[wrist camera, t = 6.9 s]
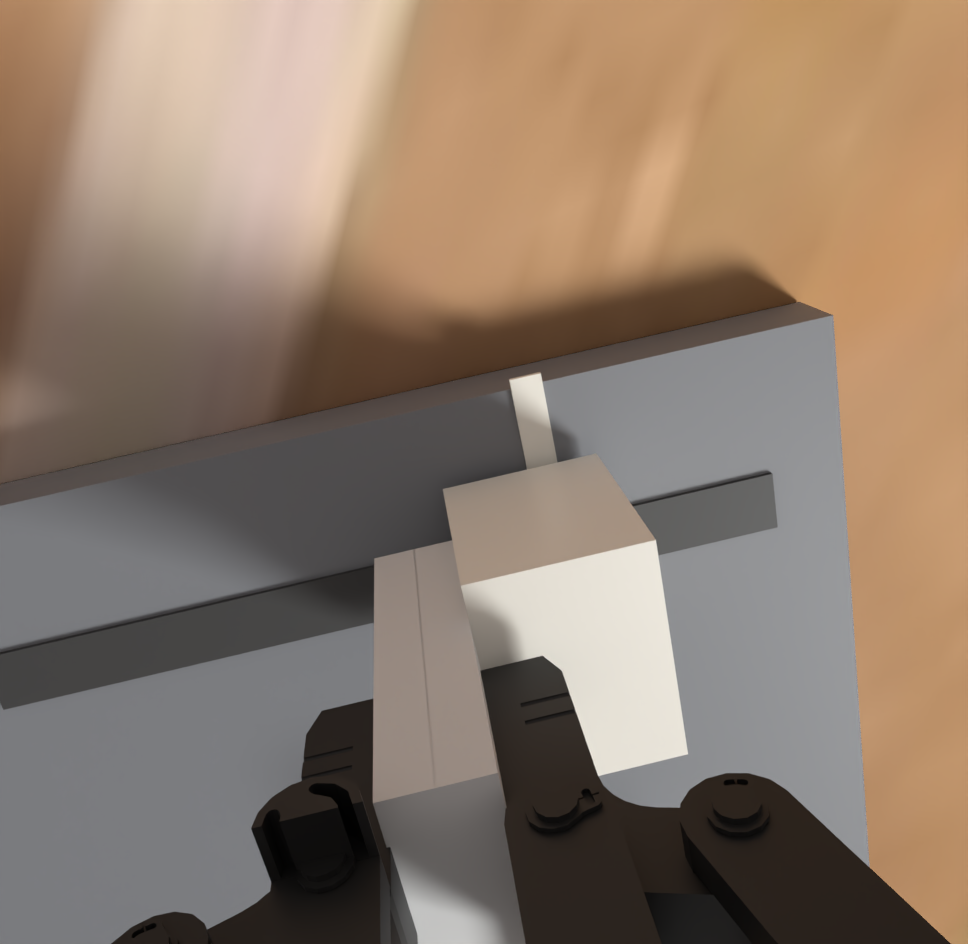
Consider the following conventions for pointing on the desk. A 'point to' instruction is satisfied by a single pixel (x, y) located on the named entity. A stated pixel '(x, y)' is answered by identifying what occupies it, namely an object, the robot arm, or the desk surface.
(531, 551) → the fader ivory
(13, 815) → the panel
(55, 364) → the desk surface
